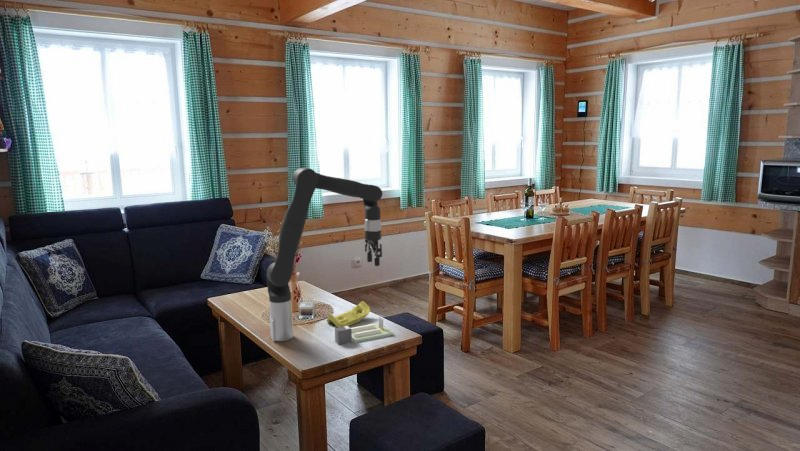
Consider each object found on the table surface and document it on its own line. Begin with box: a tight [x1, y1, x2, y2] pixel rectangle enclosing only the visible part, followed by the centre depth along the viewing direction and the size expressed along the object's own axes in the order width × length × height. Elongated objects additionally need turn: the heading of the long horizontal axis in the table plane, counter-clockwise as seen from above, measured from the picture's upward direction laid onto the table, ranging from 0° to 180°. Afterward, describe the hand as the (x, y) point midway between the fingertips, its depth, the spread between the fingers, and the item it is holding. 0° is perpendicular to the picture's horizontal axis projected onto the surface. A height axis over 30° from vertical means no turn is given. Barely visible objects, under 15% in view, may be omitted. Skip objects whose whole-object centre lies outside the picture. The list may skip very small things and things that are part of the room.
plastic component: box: [326, 300, 371, 328], centre depth 256 cm, size 20×7×10 cm
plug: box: [334, 326, 353, 346], centre depth 231 cm, size 6×4×6 cm, turn 116°
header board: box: [350, 316, 394, 343], centre depth 239 cm, size 18×13×6 cm
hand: (373, 263), depth 250 cm, fingers open, 8 cm apart
